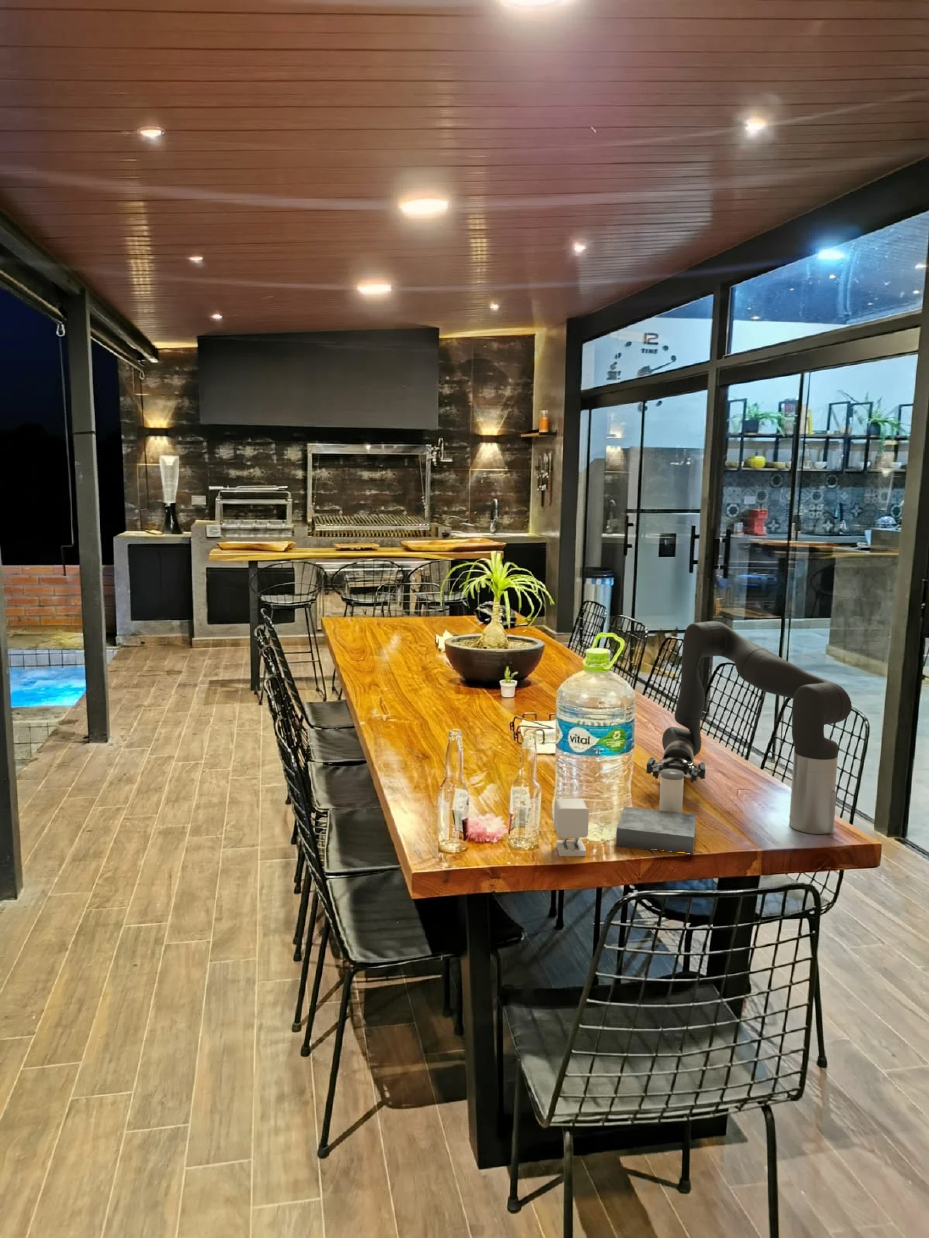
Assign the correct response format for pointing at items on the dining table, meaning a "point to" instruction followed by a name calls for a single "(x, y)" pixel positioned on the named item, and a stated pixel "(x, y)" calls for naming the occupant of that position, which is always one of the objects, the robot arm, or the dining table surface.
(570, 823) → the security camera
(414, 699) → the dining table surface
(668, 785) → the canister
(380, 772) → the dining table surface
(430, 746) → the dining table surface
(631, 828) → the block
